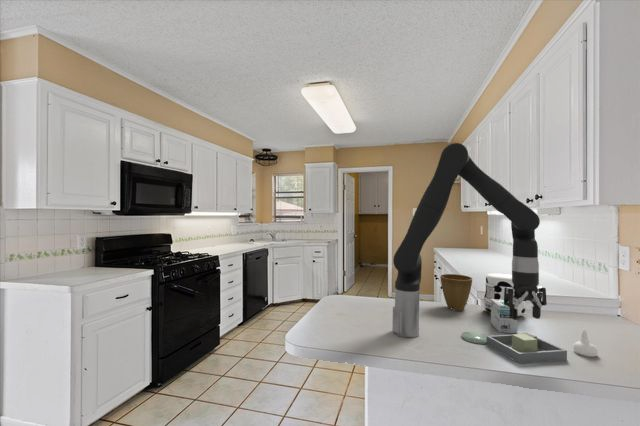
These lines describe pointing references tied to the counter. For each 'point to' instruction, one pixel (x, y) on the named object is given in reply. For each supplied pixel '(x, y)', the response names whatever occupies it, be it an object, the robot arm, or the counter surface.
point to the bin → (527, 357)
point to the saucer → (475, 337)
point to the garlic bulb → (585, 346)
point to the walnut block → (530, 335)
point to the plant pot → (456, 290)
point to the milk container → (499, 291)
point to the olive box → (524, 343)
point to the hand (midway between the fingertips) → (525, 318)
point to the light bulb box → (502, 317)
